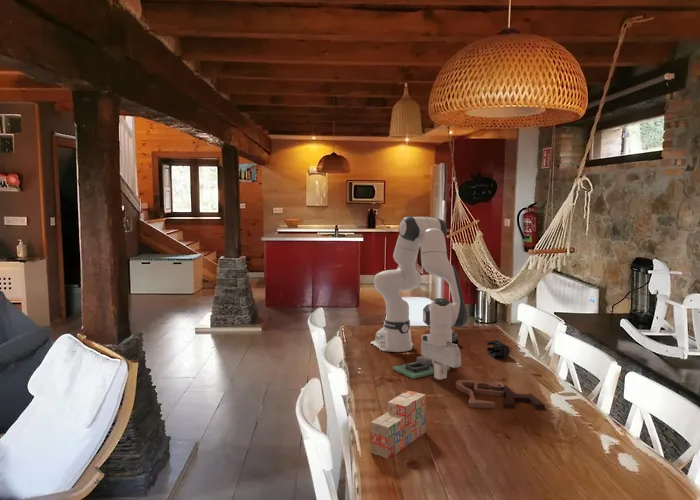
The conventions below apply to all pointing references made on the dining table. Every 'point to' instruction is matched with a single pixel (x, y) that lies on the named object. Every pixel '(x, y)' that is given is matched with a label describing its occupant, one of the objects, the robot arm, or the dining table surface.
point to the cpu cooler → (454, 339)
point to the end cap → (498, 349)
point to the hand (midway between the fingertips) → (440, 372)
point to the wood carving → (495, 394)
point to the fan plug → (439, 371)
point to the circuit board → (417, 368)
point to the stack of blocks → (399, 424)
